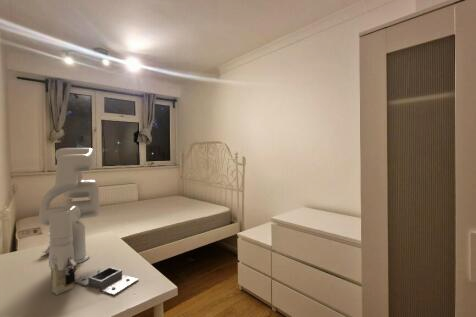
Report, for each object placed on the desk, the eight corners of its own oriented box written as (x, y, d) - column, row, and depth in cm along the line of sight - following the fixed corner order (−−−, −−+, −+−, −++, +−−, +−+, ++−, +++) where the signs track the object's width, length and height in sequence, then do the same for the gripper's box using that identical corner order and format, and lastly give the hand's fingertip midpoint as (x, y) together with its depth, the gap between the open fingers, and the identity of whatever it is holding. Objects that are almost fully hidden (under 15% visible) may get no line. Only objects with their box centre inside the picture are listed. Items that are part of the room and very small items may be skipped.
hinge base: (73, 282, 102) (72, 274, 102) (99, 269, 113) (98, 262, 113) (114, 296, 91) (113, 287, 91) (138, 280, 102) (138, 272, 102)
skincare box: (56, 295, 93) (55, 265, 92) (52, 292, 95) (50, 262, 95) (74, 287, 98) (73, 259, 98) (70, 284, 101) (68, 256, 100)
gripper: (39, 240, 96) (40, 281, 97) (64, 246, 89) (66, 290, 90) (59, 234, 103) (60, 272, 104) (84, 239, 96) (85, 280, 96)
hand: (63, 280), depth 97 cm, fingers open, 9 cm apart
